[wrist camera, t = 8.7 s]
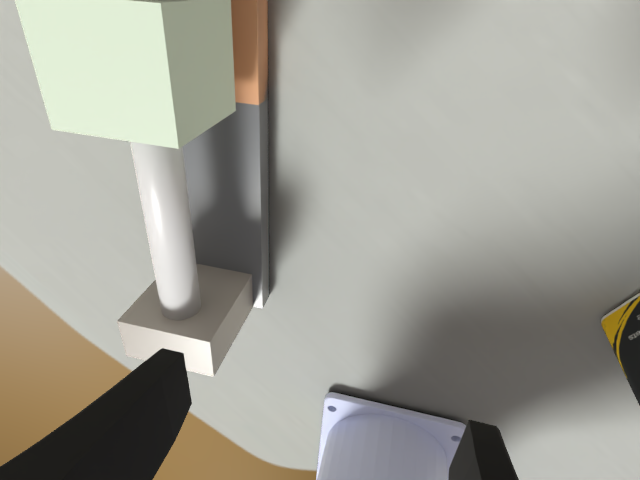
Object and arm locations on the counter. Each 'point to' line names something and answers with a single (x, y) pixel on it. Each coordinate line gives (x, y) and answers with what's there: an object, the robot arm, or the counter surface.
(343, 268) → the counter surface
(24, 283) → the counter surface
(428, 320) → the counter surface
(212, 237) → the rod with sliding collar
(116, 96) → the sleeve
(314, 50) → the counter surface
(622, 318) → the medicine bottle
